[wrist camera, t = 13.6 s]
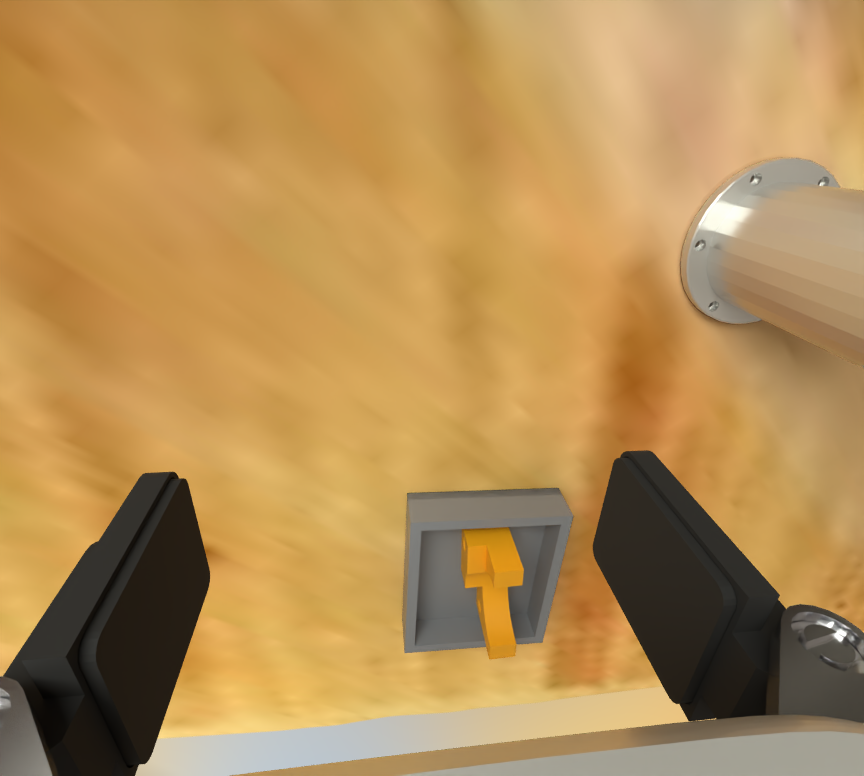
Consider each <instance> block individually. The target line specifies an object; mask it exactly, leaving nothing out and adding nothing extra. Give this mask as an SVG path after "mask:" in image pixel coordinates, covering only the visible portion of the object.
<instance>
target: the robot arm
mask: <svg viewBox="0 0 864 776" xmlns="http://www.w3.org/2000/svg"><path fill="white" fill-rule="evenodd" d="M681 278H682V282H683V286H684V290H685V292H686V294H687V296H688V297H689V299H690V301H691V302H692V303H693V304H694V305H695V307H696V308H697V309H698V310H700V311H701V312H703V313H704V314H706V315H707V316H710V317H712V318H714V319H716V320H718V321H721V322H725V323H730V324H746V323H752V322H758V321H761V320H764V321H766V322H768V323H770V324H772V325H775V326H777V327H779V328H781V329H783V330H785V331H787V332H789V333H791V334H793V335H795V336H797V337H799V338H801V339H803V340H806V341H808V342H810V343H812V344H814V345H816V346H818V347H820V348H822V349H824V350H826V351H828V352H830V353H832V354H834V355H837V356H839V357H841V358H843V359H845V360H847V361H849V362H851V363H853V364H855V365H857V366H859V367H861V368H863V369H864V191H862V190H854V189H846V188H840V186H839V184H838V182H837V181H836V179H835V177H834V176H833V175H832V174H831V173H830V172H829V171H828V170H827V169H826V168H825V167H823V166H821V165H819V164H817V163H815V162H813V161H811V160H805V159H800V158H783V157H781V158H775V159H769V160H764V161H762V162H759V163H756V164H754V165H751V166H749V167H747V168H745V169H743V170H742V171H740V172H738V173H736V174H735V175H733V176H732V177H731V178H730V179H728V180H727V181H726V182H725V183H723V184H722V185H721V186H720V187H719V188H718V189H717V190H716V191H715V192H714V193H713V194H712V195H711V196H710V197H709V198H708V199H707V201H706V202H705V203H704V205H703V206H702V208H701V209H700V211H699V212H698V213H697V215H696V217H695V219H694V221H693V223H692V225H691V227H690V229H689V230H688V233H687V236H686V239H685V242H684V245H683V251H682V257H681ZM593 553H594V557H595V559H596V562H597V564H598V565H599V567H600V569H601V571H602V573H603V575H604V577H605V579H606V580H607V582H608V584H609V586H610V588H611V590H612V592H613V593H614V595H615V597H616V599H617V601H618V603H619V605H620V607H621V608H622V610H623V612H624V614H625V616H626V618H627V620H628V622H629V623H630V625H631V627H632V629H633V631H634V633H635V635H636V637H637V638H638V640H639V642H640V644H641V646H642V648H643V650H644V651H645V653H646V655H647V657H648V659H649V661H650V663H651V665H652V666H653V668H654V670H655V672H656V674H657V676H658V678H659V680H660V681H661V683H662V685H663V687H664V689H665V691H666V693H667V694H668V696H669V698H670V699H671V700H672V701H673V702H674V703H676V704H680V706H681V708H682V710H683V711H684V713H685V715H686V717H687V719H688V721H693V722H683V723H672V724H663V725H654V726H645V727H636V728H627V729H619V730H609V731H601V732H591V733H582V734H573V735H565V736H555V737H547V738H538V739H530V740H521V741H512V742H504V743H496V744H487V745H478V746H470V747H461V748H453V749H445V750H436V751H427V752H419V753H410V754H403V755H395V756H385V757H377V758H369V759H361V760H352V761H344V762H336V763H328V764H321V765H312V766H304V767H296V768H288V769H279V770H271V771H263V772H255V773H248V774H240V775H232V776H864V633H863V632H862V631H861V630H860V629H859V628H858V627H856V626H855V625H853V624H852V623H850V622H849V621H847V620H846V619H844V618H843V617H841V616H839V615H837V614H835V613H833V612H831V611H828V610H825V609H822V608H819V607H816V606H811V605H802V604H799V605H794V606H790V607H788V608H787V609H786V608H785V607H784V606H783V605H782V604H781V602H780V601H779V600H778V598H779V596H780V595H779V594H778V593H777V591H776V590H775V589H774V588H773V587H772V586H771V585H770V584H769V582H768V581H767V580H766V579H765V578H764V577H763V576H762V575H761V573H760V572H759V571H758V570H757V569H756V568H755V567H754V566H753V564H752V563H751V562H750V561H749V560H748V559H747V558H746V557H745V555H744V554H743V553H742V552H741V551H740V550H739V549H738V548H737V546H736V545H735V544H734V543H733V542H732V541H731V540H730V539H729V537H728V536H727V535H726V534H725V533H724V532H723V531H722V530H721V528H720V527H719V526H718V525H717V524H716V523H715V522H714V521H713V519H712V518H711V517H710V516H709V515H708V514H707V513H706V512H705V510H704V509H703V508H702V507H701V506H700V505H699V504H698V503H697V501H696V500H695V499H694V498H693V497H692V496H691V495H690V494H689V492H688V491H687V490H686V489H685V488H684V487H683V486H682V485H681V483H680V482H679V481H678V480H677V479H676V478H675V477H674V476H673V474H672V473H671V472H670V471H669V470H668V469H667V468H666V467H665V465H664V464H663V463H662V462H661V461H660V460H659V459H658V458H657V456H656V455H655V454H654V453H653V452H651V451H626V452H623V454H622V455H621V457H620V458H617V459H616V460H615V461H614V463H613V467H612V471H611V475H610V479H609V483H608V487H607V491H606V495H605V499H604V503H603V507H602V511H601V515H600V519H599V523H598V527H597V531H596V535H595V539H594V542H593ZM209 582H210V570H209V566H208V562H207V558H206V554H205V550H204V546H203V542H202V538H201V534H200V530H199V526H198V522H197V518H196V514H195V510H194V506H193V502H192V498H191V494H190V490H189V486H188V483H187V480H186V479H184V478H183V479H179V478H178V475H177V474H176V473H175V472H159V473H145V474H142V476H141V477H140V478H139V479H138V481H137V483H136V484H135V486H134V487H133V489H132V490H131V492H130V493H129V495H128V496H127V498H126V500H125V501H124V503H123V504H122V506H121V507H120V509H119V510H118V512H117V514H116V515H115V517H114V518H113V520H112V521H111V523H110V524H109V526H108V527H107V529H106V531H105V532H104V534H103V535H102V537H101V538H100V540H99V541H98V542H95V543H94V544H92V545H91V546H90V547H89V548H88V549H87V550H86V551H85V553H84V554H83V556H82V557H81V559H80V560H79V562H78V564H77V565H76V567H75V568H74V570H73V571H72V573H71V574H70V576H69V577H68V579H67V580H66V582H65V583H64V585H63V586H62V588H61V589H60V591H59V592H58V594H57V595H56V597H55V598H54V600H53V601H52V603H51V604H50V606H49V607H48V609H47V610H46V612H45V613H44V615H43V616H42V618H41V619H40V621H39V623H38V624H37V626H36V627H35V629H34V630H33V632H32V633H31V635H30V636H29V638H28V639H27V641H26V642H25V644H24V645H23V647H22V648H21V650H20V651H19V653H18V654H17V656H16V657H15V659H14V660H13V662H12V663H11V665H10V666H9V668H8V669H7V671H6V672H5V674H4V675H3V676H2V677H0V776H135V774H136V771H137V768H138V765H139V764H145V763H147V761H148V760H149V759H150V757H151V754H152V752H153V749H154V746H155V743H156V740H157V738H158V735H159V732H160V729H161V726H162V723H163V720H164V717H165V714H166V711H167V708H168V705H169V702H170V699H171V696H172V694H173V691H174V688H175V685H176V682H177V679H178V676H179V673H180V670H181V667H182V664H183V661H184V658H185V655H186V652H187V649H188V647H189V644H190V641H191V638H192V635H193V632H194V629H195V626H196V623H197V620H198V617H199V614H200V611H201V608H202V605H203V603H204V600H205V597H206V594H207V591H208V587H209ZM715 717H716V719H715V720H705V719H714V718H715ZM696 720H704V721H696Z"/></svg>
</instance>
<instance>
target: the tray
mask: <svg viewBox="0 0 864 776" xmlns="http://www.w3.org/2000/svg"><path fill="white" fill-rule="evenodd" d="M572 520H573V514H572V512H571V511H570V509H569V507H568V505H567V503H566V501H565V499H564V498H563V496H562V494H561V492H560V490H559V488H543V489H514V490H485V491H456V492H427V493H407V512H406V537H405V563H404V588H403V613H402V623H403V637H404V650H405V653H412V652H425V651H438V650H451V649H464V648H477V647H486V643H485V639H484V635H483V630H482V626H481V622H480V617H479V613H478V609H477V604H476V597H477V587H473V588H465V585H464V581H463V576H462V571H461V543H462V529H476V528H498V527H509V529H510V532H511V535H512V538H513V541H514V543H515V546H516V549H517V552H518V555H519V557H520V560H521V563H522V566H523V569H524V574H523V584H522V585H520V586H511V587H508V601H509V610H510V617H511V623H512V628H513V633H514V637H515V641H516V644H529V643H542V642H543V638H544V634H545V630H546V625H547V621H548V617H549V613H550V609H551V605H552V601H553V597H554V593H555V589H556V585H557V581H558V577H559V573H560V568H561V564H562V560H563V556H564V552H565V548H566V544H567V540H568V536H569V532H570V528H571V524H572Z"/></svg>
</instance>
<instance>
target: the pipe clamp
mask: <svg viewBox="0 0 864 776" xmlns="http://www.w3.org/2000/svg"><path fill="white" fill-rule="evenodd" d="M461 571H462V576H463V581H464V585H465V588H473V587H477V597H476V604H477V609H478V613H479V617H480V622H481V626H482V630H483V635H484V639H485V643H486V648H487V652H488V656H489V659H497V658H505V657H513V656H515V652H516V641H515V637H514V633H513V628H512V623H511V617H510V610H509V601H508V587H511V586H520V585H522V584H523V574H524V569H523V566H522V563H521V560H520V557H519V555H518V552H517V549H516V546H515V543H514V541H513V538H512V535H511V532H510V529H509V527H498V528H476V529H462V543H461Z"/></svg>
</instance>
